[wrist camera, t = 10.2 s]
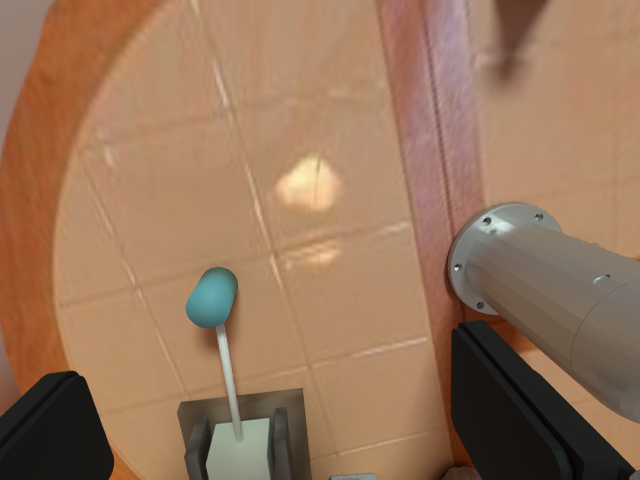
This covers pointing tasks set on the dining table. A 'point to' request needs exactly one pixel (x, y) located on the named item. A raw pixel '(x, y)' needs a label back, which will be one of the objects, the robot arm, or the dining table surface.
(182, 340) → the dining table surface
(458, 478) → the garlic bulb
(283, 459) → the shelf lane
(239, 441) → the cube with teal knob
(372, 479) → the coffee box
